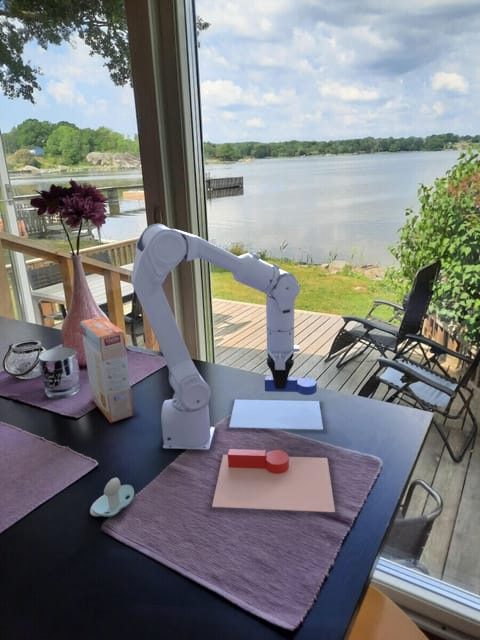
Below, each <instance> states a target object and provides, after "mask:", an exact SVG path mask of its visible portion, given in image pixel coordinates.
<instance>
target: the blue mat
mask: <svg viewBox="0 0 480 640" xmlns="http://www.w3.org/2000/svg"><path fill="white" fill-rule="evenodd" d="M230 416H231V417H230V421H229V426H228V427H229V428H236V429H237V428H240V429H274V430H275V429H281V430H315V431H316V430H317V431H318V430H321V431H324V426H323V419H322V411H321V405H320V400H289V399H288V400H285V399H282V400H280V399H279V400H278V399H274V400H273V399H234V403H233V407H232V412H231V415H230Z"/></svg>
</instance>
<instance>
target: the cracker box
mask: <svg viewBox="0 0 480 640" xmlns="http://www.w3.org/2000/svg"><path fill="white" fill-rule="evenodd" d="M80 329H81V335H82V343H83V348H84V356H85V362H86V367H87V368H86V369H87V375H88V382H89V389H90V396H91V400H92V401H93V403H94V404H95V405H96V407H97V408H98V409H99V410H100V412H101V413H102V414H103V416H104V417H105V418H106V419H107V420H108V422H109V423H110V424H113V423H115V422H118V421H121V420H125V419H128V418H130V417H133V416H134V406H133V399H132V391H131V383H130V380H131V379H130V372H129V367H128V366H129V364H128V355H127V346H126V338H125V332H124V330H122V329H120V328H119V327H118V326H116V325H115V324H114V323H113V322H111V321H110V320H108V319H107V318H106V317H104V316H98V317H93V318H88V319H83V320H80Z"/></svg>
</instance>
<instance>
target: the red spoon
mask: <svg viewBox="0 0 480 640" xmlns="http://www.w3.org/2000/svg"><path fill="white" fill-rule="evenodd" d="M227 455H228V467H231V468H260V469H267V470H268V471H269V472H271V473H275V474H280V473H284V472H286V471H287V470H288V468H289V457H290V456H289V454H288V453H287V452H286V451H284V450H280V449H272V450H270V451H268V452H267V449H241V448H240V449H237V448H232V449H231V448H228V451H227Z"/></svg>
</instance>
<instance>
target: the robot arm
mask: <svg viewBox="0 0 480 640" xmlns="http://www.w3.org/2000/svg"><path fill="white" fill-rule="evenodd" d="M261 258H262V257H261V255H259V254H257V253H255V252H252V253H251V254H250V253H244V254H241V255H239V256H238V255H236V254H233V253H231V251H227V250H226V249H224V248H222V247H220V246H218V245H216V244H214V243H212V242H210V241H208V240H206V239H204V238H202V237H200V236H197V235H195V234H192V233H189V232H186V231H183V230H179V229H176V228H169V227H168V226H166V225H164V224H161V223H152V224H151V225H149V226H147V227H146V228H144V229H143V230H142V233H141V234H140V236H139V238H138V240H137V241H136V243H135V255H134V258H133V259H134V260H133V265H132V271H131V277H130V282H131V285H132V287H133V290H134V292H135V294H136V296H137V299H138V301H139V304H140V307H141V308H142V311H143V312H144V315H145V317H146V320H147V322H148V325H149V326H150V328H151V331H152V333H153V335H154V338H155V339H156V341H157V344H158V347H159V349H160V351H161V353H162V357H163V358H164V360H165V362H166V367H167V369H168V373H169V374H168V382H169V385H170V387H171V388H173V391H174V393H173V396H172V398H171V399H165V400H164V401H163V404H162V407H161V413H160V414H161V416H160V419H161V430H162V432H161V433H162V441H163V445H162V448H163V449H176V450H177V449H179V450H181V449H182V450H209V449H210V448H211V444H212V440H213V437H214V432H215V430H216V427H214V426H211V422H210V421H211V420H210V407H209V406H210V405H209V402H210V399H211V397H212V390H211V388H210V385H209V384H208V383H207V382H206V381H205V380H204V378H203V377H202V376H201V373H200V372H199V370H198V369H197V367H196V366H195V365H196V364H195V363H194V361H193V359H192V357H191V355H190V353H189V350H188V347H187V346H186V343H185V341H184V338H183V335H182V333H181V331H180V328H179V326H178V324H177V321H176V319H175V316H174V313H173V311H172V309H171V307H170V306H171V305H170V304H169V301H168V299H167V297H166V294H165V291H164V289H163V283H164V281H165V280H166V278H167V276H168V274H169V273H171V272H172V270H174V268H175V267H177V266H178V265H179V264H180V263H181V262H182V260H184V261H186V262H191V261H193V260H197V259H200V260H203V261H205V262H207V263H209V264H213V265H214V266H216V267H219V268H223V269H224V270H226V271H229V272H231V275H232V277H233V280H234V281H235V282H237V283H239V284H242V285H244V286H247V287H249V288H251V289H254V290H256V291H257V292H260V293H263V294H265V301H266V302H265V303H266V304H265V311H266V312H265V313H266V316H265V317H266V318H265V319H266V346H265V351H266V353H267V357H266V364H267V367H268V368H269V371H270V372H271V375H272V376H273V380H274V385H275V388H276V389H285V388H286V385H287V380H288V377H289V376H290V372H291V369H292V368H293V367H294V364H295V360H294V359H293V358H294V356H295V355H294V353H295V352H297V353H299V352H300V351H301V350H300V349H301V348H300V345H298V344H295V306H296V305H295V304H296V303H295V302H296V299H297V297H298V296H299V294H300V291H301V285H299V282H298V279H297V277H296V276H295V275H294V274H292V273H290V272H288V271H286V270H283V269H280V268H281V267H280V265H278V264H276V263H273V264H272V263H271V264H270V263H269V262H267V261H264V260H262V259H261Z"/></svg>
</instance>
